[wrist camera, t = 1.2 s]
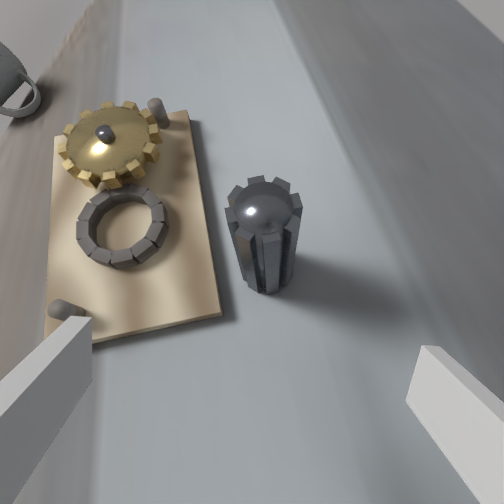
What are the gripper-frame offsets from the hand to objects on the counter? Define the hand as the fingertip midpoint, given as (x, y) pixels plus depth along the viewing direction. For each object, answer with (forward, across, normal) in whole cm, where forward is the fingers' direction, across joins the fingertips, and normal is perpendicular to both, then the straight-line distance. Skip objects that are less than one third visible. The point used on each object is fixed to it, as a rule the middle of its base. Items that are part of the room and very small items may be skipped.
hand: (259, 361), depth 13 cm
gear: (+27, -14, +6) cm, 31 cm away
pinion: (+19, +2, -2) cm, 19 cm away
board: (+24, -12, 0) cm, 27 cm away
